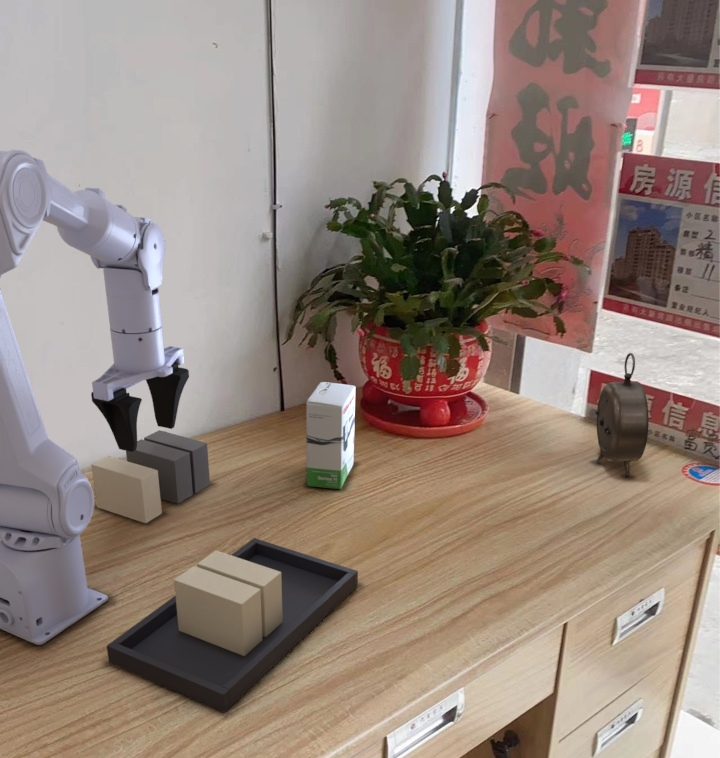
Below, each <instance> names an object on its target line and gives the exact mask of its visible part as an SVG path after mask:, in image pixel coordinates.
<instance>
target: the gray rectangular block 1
mask: <svg viewBox="0 0 720 758" xmlns="http://www.w3.org/2000/svg"><path fill="white" fill-rule="evenodd" d="M125 453H126V454H125V457H126V461H128V462H131V463H135V464H138V465H141V466H145V467H148V468H152V469H155V470H158V479H159V489H160V499H161V500H164V501H167V502H171V503H174V504H176V505H177V504H181V503H182V502H183V501H186V500H187V499H189V498H190V497H192V496H194V493H193V490H192V477H191V464H190V453H189V452H185V451H182V450H178V449H174V448H171V447H167V446H164V445H160V444H156V443H153V442H149V441H146V440H144V439H142V438H141V439H139V440H137V448H136V450H135V451H133V452H130V451H126V450H125Z"/></svg>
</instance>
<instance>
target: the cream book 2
mask: <svg viewBox="0 0 720 758" xmlns="http://www.w3.org/2000/svg"><path fill="white" fill-rule="evenodd" d="M197 567H199V568H201V569H204V570H207V571H210V572H213V573H216V574H219V575H222V576H224V577H227V578H230V579H233V580H236V581H239V582H242V583H245V584H247V585H250V586H253V587H256V588H259V589H260V590H261V616H262V636H264V637H267V636H268V635H269V634H270V633H271V632H272V631H273V630H274V629H276V628H277V627H278V626H279V625H280V624H281V623H282V622H283V621H282V582H281V572H279V571H276V570H273V569H270V568H267V567H264V566H261V565H258V564H256V563H253V562H250V561H247V560H244V559H241V558H238V557H235V556H232V554H228V553H226V552H223V551H220V550H214V551H212V552H211V553H210V554H209V555H207V556H205V557H204V558H202V560H200V561H198V562H197Z"/></svg>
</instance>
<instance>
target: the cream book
mask: <svg viewBox="0 0 720 758" xmlns="http://www.w3.org/2000/svg"><path fill="white" fill-rule="evenodd" d="M90 467H91V474H92V480H93V481H92V482H93V490H94V497H95V502H96V503H95V504H96V508H98V509H100V510H103V511H107V512H110V513H113V514H116V515H119V516H121V517H125V518H128V519H131V520H134V521H137V522H140V523H143V524H147V523H149V522H151V521H152V520H154V519H155V518H158V517H159V516H160V515H162V514H163V510H162V499H161V498H160V489H159V479H158V470H155V469H152V468H148V467H145V466H141V465H138V464H135V463H131V462H128V461H127V460H124V459H121V458H117V457H114V456H111V455H106V456H104V457H102V458H101V459H99V460H97V461H95V462H93V463H91V465H90Z"/></svg>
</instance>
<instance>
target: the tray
mask: <svg viewBox="0 0 720 758" xmlns="http://www.w3.org/2000/svg"><path fill="white" fill-rule="evenodd" d="M231 555H232V556H235V557H238V558H241V559H244V560H247V561H250V562H253V563H256V564H258V565H261V566H264V567H267V568H270V569H273V570H276V571H279V572H281V582H282V621H283V622H282V623H281V624H280V625H279V626H278V627H277V628H276V629H274V630H273V631H272V632H271V633H270V634H269V635H268V636H267V637H264V636H262V641H261V642H260V643H259V644H258V645H257V646H255V647H254V648H253V649H252V650H251V651H250V652H249V653H248V654H247V655H245V656H242V655H240V654H237V653H235V652H232V651H230V650H227V649H225V648H222V647H219V646H217V645H214V644H212V643H209V642H207V641H204V640H201V639H199V638H196V637H194V636H191V635H189V634H186V633H184V632H181V631H179V627H178V616H177V606H176V595H174V596H172V597H171V598H170V599H169V600H167V601H166V602H164V604H161V606H159V607H157V609H155V610H153V611H152V612H151V613H149V614H148V615H146V617H143V618H142V619H141V620H140V621H138V622H136V624H134V625H133V626H132V627H130V628H129V629H127V630H126V631H125V632H123V633H122V634H121V635H119V636H117V637H116V638H115V639H114V640H112V641H111V642H110V643H109V644H107V645H106V652H107V659H108V663H109V664H112V665H113V666H116V667H118V668H120V669H123V670H125V671H127V672H130V673H133V674H134V675H137V676H139V677H141V678H143V679H146V680H149V681H151V682H153V683H155V684H158V685H159V686H162V687H165V688H167V689H169V690H172V691H174V692H177V693H179V694H182V695H184V696H186V697H188V698H191V699H193V700H195V701H198V702H200V703H202V704H205V705H206V706H209V707H211V708H214V709H216V710H218V711H221V712H222V713H223V712H224V713H226V712H227V711H228V710H229V709H230V708H231V707H232V706H233V705H235V703H236V702H237V701H239V700H240V699H241V697H243V696H244V695H245V694H246V693H247V692H248V691H249V690H250V689H251V688H252V687H253V686H254V685H256V684H257V682H258V681H260V680H261V679H262V678H263V676H265V675H266V674H267V673H268V672H270V670H271V669H272V668H273V667H274V666H275V665H276V664H277V663H278V662H279V661H281V660H282V659H283V658H284V657H285V656H286V655H287V654H288V653H289V652H290V651H291V650H292V649H294V647H296V645H298V644H299V643H300V642H301V641H302V640H303V639H304V638H305V637H306V636H307V635H308V634H309V633H310V632H311V631H312V630H314V628H315V627H316V626H317V625H319V623H320V622H322V621H323V620H324V619H325V618H326V617H327V616H328V615H329V614H330V613H331V612H332V611H333V610H335V608H336V607H338V605H339V604H341V603H342V602H343V601H344V600H346V598H347V597H348V596H349V595H350V594H351V593H353V591H355V589H356V588H358V586H359V585H358V584H359V583H358V581H359V571H358V570H357V569H353V568H350V567H346V566H344V565H340V564H337V563H334V562H331V561H327V560H325V559H321V558H318V557H315V556H312V555H309V554H306V553H304V552H303V553H302V552H300V551H297V550H293V549H290V548H288V547H284V546H281V545H278V544H274V543H271V542H268V541H266V540H262V539H260V538H255V537H253V538H252V539H251V540H249V541H248V542H247V543H245V544H244V545H243V546H241V547H240V548H239V549H237V550H236V551H234V552H233V553H232V554H231Z"/></svg>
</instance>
